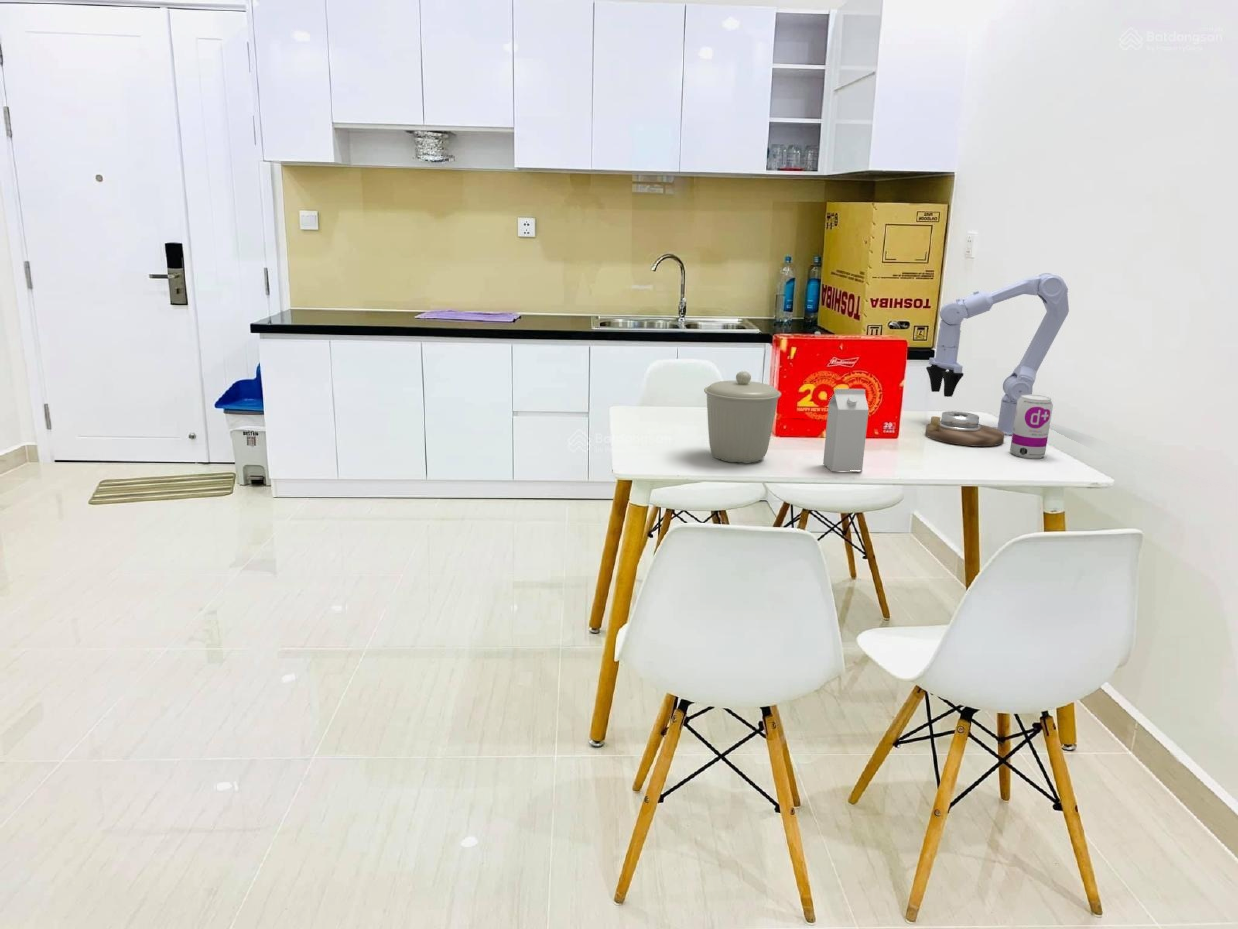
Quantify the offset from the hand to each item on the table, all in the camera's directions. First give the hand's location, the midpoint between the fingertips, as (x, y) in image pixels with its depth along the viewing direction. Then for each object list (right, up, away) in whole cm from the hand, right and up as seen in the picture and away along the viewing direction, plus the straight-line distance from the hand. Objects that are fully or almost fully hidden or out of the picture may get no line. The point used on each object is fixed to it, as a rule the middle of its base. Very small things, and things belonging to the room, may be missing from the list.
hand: (941, 393), depth 258 cm
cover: (+2, -10, -9) cm, 13 cm away
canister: (-63, -19, -38) cm, 76 cm away
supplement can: (+12, -18, -26) cm, 34 cm away
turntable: (+2, -13, -11) cm, 17 cm away
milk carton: (-39, -21, -45) cm, 63 cm away
